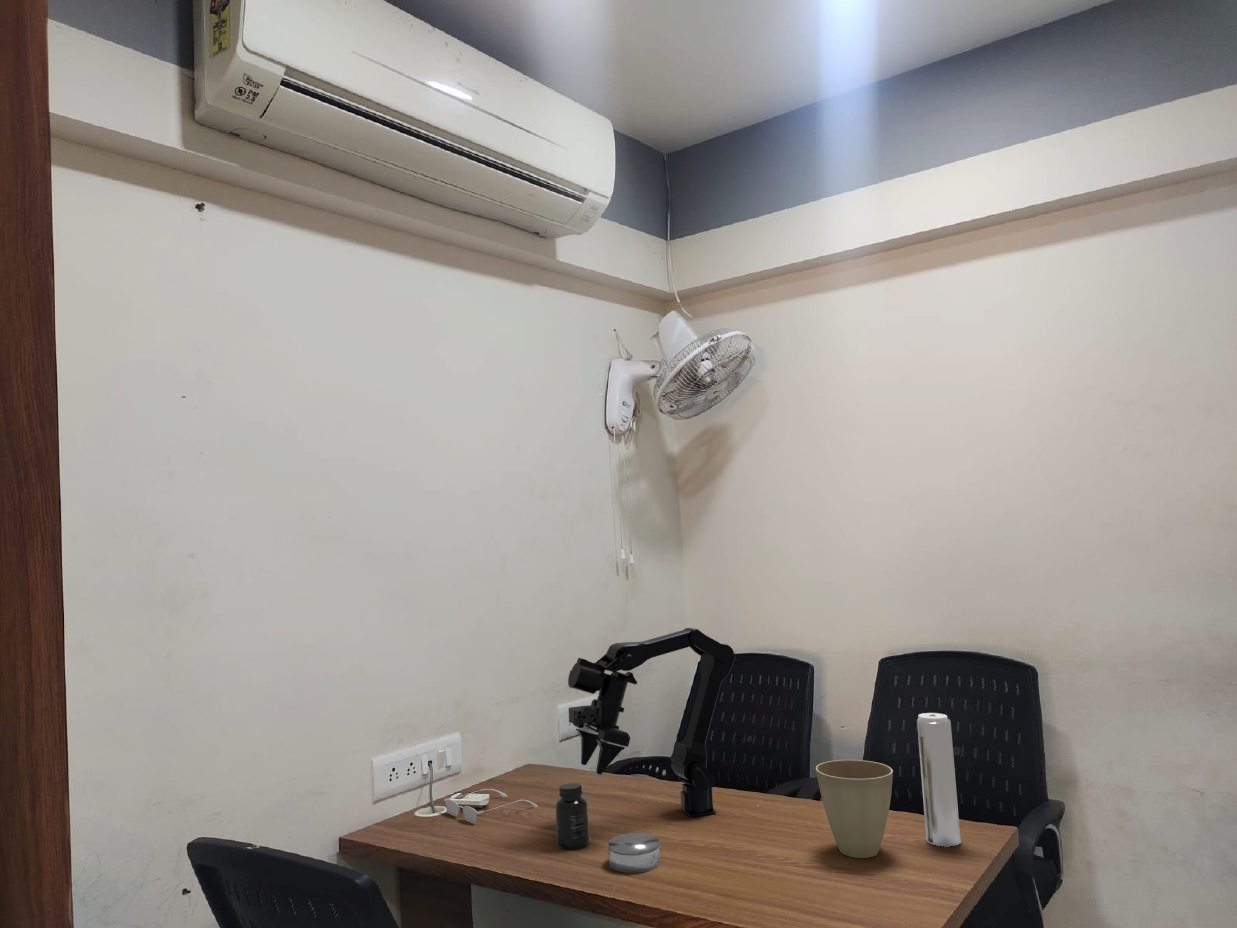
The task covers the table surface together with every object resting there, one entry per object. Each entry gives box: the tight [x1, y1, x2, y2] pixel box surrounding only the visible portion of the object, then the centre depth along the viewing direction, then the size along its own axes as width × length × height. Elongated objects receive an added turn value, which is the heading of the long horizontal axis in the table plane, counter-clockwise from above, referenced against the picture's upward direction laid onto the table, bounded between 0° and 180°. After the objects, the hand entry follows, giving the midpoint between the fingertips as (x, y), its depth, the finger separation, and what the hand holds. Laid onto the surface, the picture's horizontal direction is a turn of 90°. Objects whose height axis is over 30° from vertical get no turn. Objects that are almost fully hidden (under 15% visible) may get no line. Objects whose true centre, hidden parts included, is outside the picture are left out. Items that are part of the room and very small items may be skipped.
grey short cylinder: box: [607, 832, 661, 874], centre depth 164 cm, size 10×10×4 cm
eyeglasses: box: [443, 788, 539, 825], centre depth 202 cm, size 15×18×4 cm
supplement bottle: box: [555, 782, 590, 850], centre depth 176 cm, size 7×7×12 cm
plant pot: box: [815, 759, 894, 859], centre depth 165 cm, size 15×15×16 cm
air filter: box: [916, 712, 962, 848], centre depth 168 cm, size 6×6×25 cm
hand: (590, 769), depth 183 cm, fingers open, 9 cm apart
